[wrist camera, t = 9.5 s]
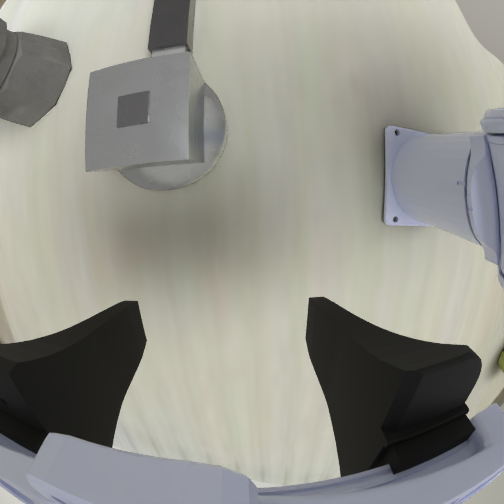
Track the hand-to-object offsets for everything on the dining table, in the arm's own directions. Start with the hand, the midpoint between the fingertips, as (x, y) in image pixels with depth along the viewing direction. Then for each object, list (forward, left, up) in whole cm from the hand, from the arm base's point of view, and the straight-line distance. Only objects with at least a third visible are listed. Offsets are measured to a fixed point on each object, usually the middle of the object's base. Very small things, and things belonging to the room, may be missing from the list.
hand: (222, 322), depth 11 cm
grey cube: (+4, -9, -7) cm, 13 cm away
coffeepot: (+19, -18, -10) cm, 28 cm away
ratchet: (+4, -16, -10) cm, 19 cm away
